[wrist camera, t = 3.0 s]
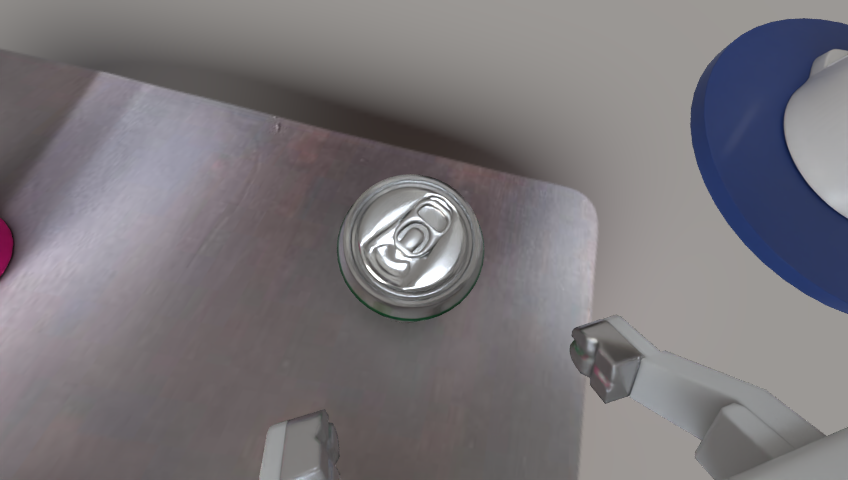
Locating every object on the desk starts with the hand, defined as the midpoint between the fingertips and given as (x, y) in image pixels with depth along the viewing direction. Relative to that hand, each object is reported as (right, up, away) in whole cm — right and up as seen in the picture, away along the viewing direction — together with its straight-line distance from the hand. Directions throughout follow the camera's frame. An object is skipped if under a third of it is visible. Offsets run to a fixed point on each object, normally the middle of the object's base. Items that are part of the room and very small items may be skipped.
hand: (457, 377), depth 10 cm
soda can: (-2, +1, +12) cm, 12 cm away
